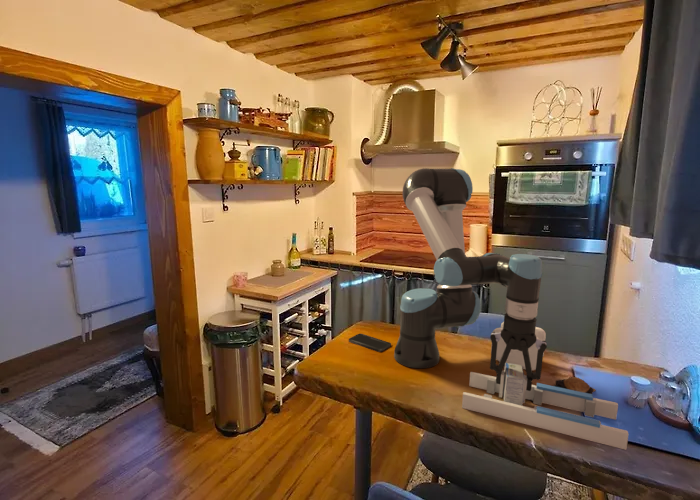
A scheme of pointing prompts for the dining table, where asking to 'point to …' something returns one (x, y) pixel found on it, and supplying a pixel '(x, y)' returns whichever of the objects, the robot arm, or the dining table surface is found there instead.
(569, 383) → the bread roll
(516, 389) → the medicine box
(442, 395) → the dining table surface
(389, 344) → the phone
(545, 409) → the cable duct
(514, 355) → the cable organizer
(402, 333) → the robot arm
